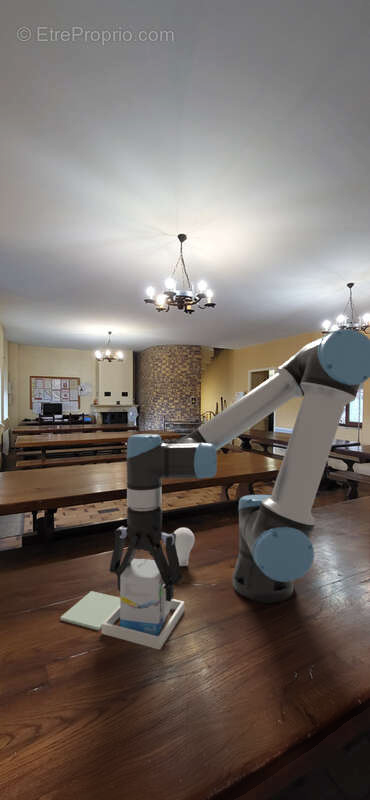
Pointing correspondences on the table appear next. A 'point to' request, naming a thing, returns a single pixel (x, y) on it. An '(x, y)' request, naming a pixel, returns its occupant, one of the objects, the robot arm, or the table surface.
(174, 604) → the tray rim
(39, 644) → the table surface
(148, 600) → the ink box
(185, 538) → the light bulb
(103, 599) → the mat
